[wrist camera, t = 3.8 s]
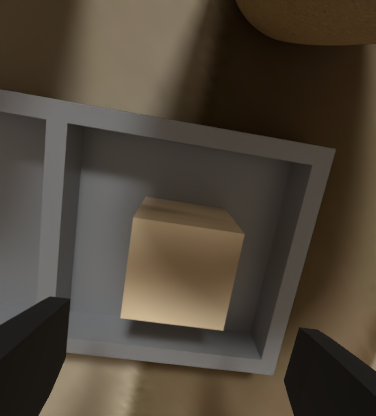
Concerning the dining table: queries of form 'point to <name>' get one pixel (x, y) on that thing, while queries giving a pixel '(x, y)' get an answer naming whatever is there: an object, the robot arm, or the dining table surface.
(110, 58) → the dining table surface
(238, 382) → the dining table surface
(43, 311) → the robot arm
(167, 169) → the tray
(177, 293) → the maple cube
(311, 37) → the plant pot
